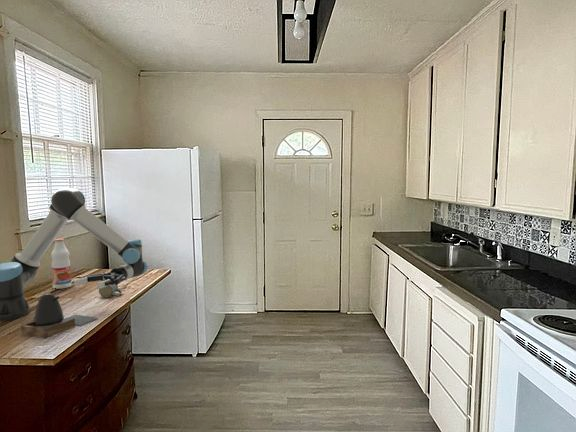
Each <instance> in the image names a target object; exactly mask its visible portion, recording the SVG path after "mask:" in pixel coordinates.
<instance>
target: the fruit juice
mask: <svg viewBox="0 0 576 432" xmlns="http://www.w3.org/2000/svg"><path fill="white" fill-rule="evenodd" d="M54 243H55V244H54V247H53V250H52V251H51V254H50V257H51V260H52V261H51V264H50V265H51V279H52V280H51V281H52V288H53V289H55V288H56V289H58V290H60V289H61V290H62V289H65V288H70V287H72V283H73V282H72V271H71V270H72V268H71V260H70V254H71V253H70V251H69V250H68V248H67V247H66V244H65V238H55V239H54Z"/></svg>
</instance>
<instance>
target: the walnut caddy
mask: <svg viewBox="0 0 576 432" xmlns="http://www.w3.org/2000/svg"><path fill="white" fill-rule="evenodd" d="M20 326H21V335H26V336H31V337H36V338H42V339H49V338H51V337H53V336H56V335H58V334H61V333H64V332H65V331H69V330H70V329H73V328H75V327H76V325H75V318H73V319H70V320H67V321H65V322H62V323H60V324H57V325H55V326H52V327H50V328H47V329H45V328H39V327H36V325H35V324H34V320H32V321H30V322H27V323H24V324H21V325H20Z"/></svg>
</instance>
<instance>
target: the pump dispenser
mask: <svg viewBox="0 0 576 432" xmlns="http://www.w3.org/2000/svg"><path fill="white" fill-rule="evenodd" d="M58 299H60V296H58V295H57V296H56V295H55V294H53V293H45V294H43V295H41V297H40V298H39V299H38V302H37V303H36V304H37V305H36V308H35V311H34V319H33V321H34V324H35V325H36V327H39V328H45V329H47V328H50V327H52V326H55V325H57V324H60V323H62V322H63V319H65V318H64V311H63V308H62V306H61V303H60V301H59V300H58Z"/></svg>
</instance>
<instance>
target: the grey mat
mask: <svg viewBox="0 0 576 432" xmlns="http://www.w3.org/2000/svg"><path fill="white" fill-rule="evenodd" d="M73 318H75V327H76V326H77V327H83V326H84V325H86V324H89V323H92V322H93V321H96V320H98V317H97V316H96V317H94V316H89V315H81V314H73V315H70V316H68V317H65V318H64V319H63V322H65V321H67V320H70V319H73Z"/></svg>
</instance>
